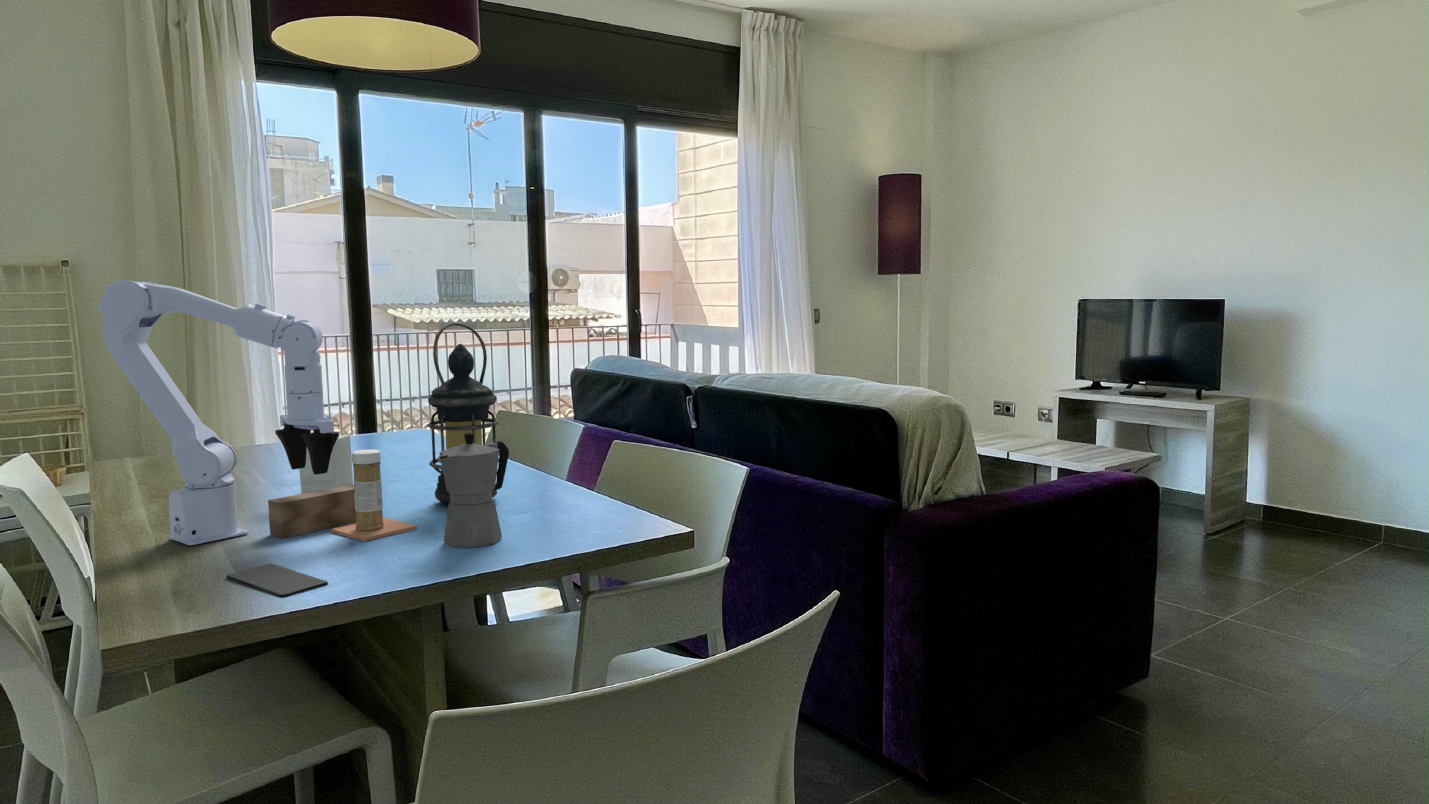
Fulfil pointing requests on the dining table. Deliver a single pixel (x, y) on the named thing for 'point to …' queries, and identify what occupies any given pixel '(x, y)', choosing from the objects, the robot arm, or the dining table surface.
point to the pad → (388, 529)
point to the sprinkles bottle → (367, 489)
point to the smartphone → (276, 580)
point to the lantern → (460, 405)
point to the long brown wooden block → (312, 511)
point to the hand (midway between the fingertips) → (309, 471)
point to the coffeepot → (473, 492)
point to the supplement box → (329, 469)
